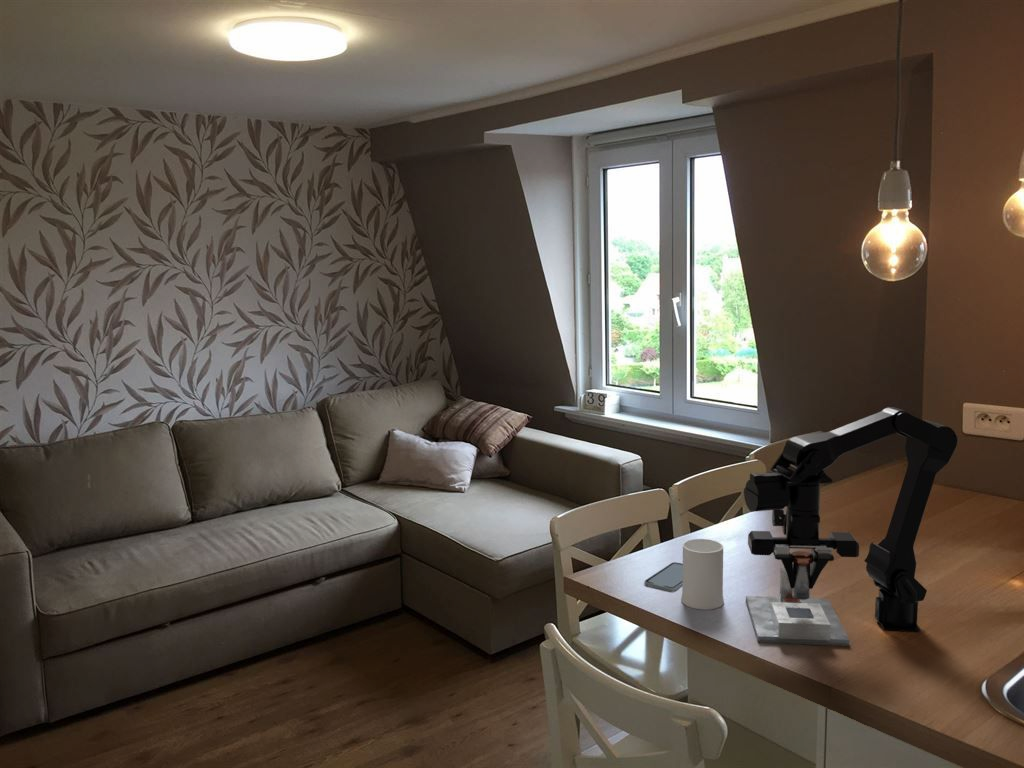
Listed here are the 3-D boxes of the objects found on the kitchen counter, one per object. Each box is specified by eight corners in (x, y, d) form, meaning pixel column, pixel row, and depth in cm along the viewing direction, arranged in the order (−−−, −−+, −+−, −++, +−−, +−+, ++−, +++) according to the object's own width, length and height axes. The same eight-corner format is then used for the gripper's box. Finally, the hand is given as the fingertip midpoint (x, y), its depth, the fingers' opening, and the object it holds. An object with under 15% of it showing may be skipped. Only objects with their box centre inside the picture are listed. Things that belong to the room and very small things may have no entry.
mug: (696, 584, 182) (696, 531, 180) (734, 592, 177) (735, 537, 175) (674, 604, 172) (674, 548, 170) (715, 613, 168) (715, 555, 166)
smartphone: (703, 568, 190) (673, 589, 178) (703, 572, 190) (673, 593, 178) (673, 561, 194) (642, 581, 183) (673, 565, 195) (642, 585, 183)
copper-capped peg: (810, 592, 158) (811, 551, 157) (814, 601, 154) (815, 559, 153) (787, 591, 159) (788, 550, 157) (791, 600, 155) (792, 558, 154)
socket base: (827, 604, 170) (828, 565, 169) (850, 647, 152) (851, 604, 151) (745, 601, 173) (746, 563, 171) (758, 643, 155) (759, 601, 153)
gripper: (846, 494, 160) (843, 572, 163) (744, 493, 163) (743, 570, 166) (861, 512, 149) (858, 596, 152) (752, 511, 152) (751, 593, 155)
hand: (801, 587), depth 156 cm, fingers closed on copper-capped peg, 3 cm apart
